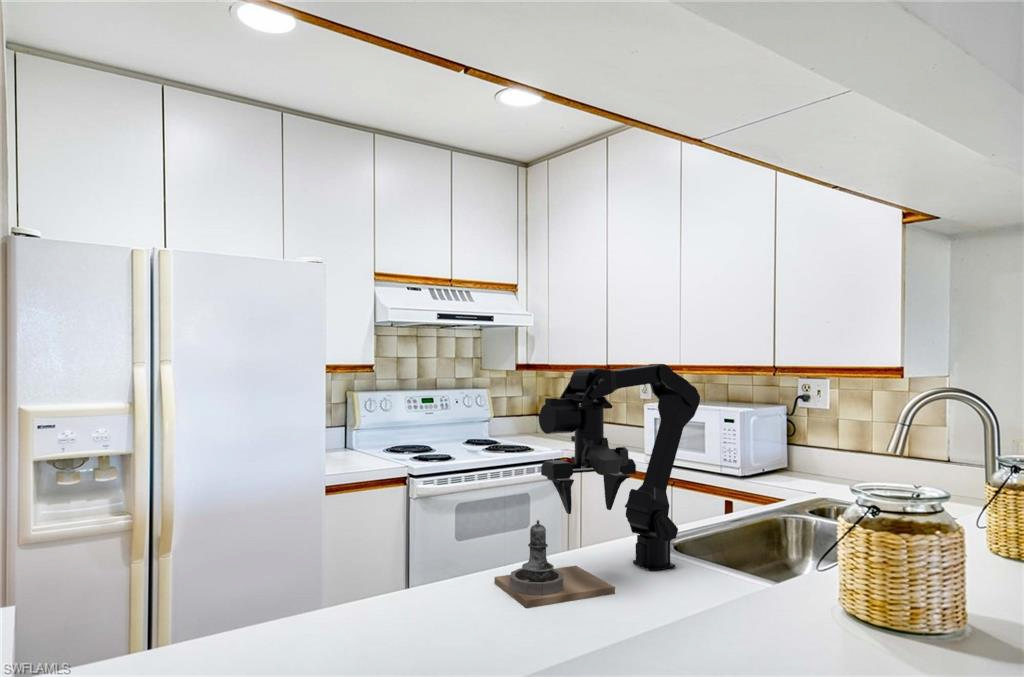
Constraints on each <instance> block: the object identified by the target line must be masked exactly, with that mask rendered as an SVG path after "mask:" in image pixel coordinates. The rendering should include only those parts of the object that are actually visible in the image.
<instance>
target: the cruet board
mask: <svg viewBox="0 0 1024 677" xmlns="http://www.w3.org/2000/svg"><path fill="white" fill-rule="evenodd" d="M527 581H530V580H528V579H527V578H526V576H525V574H524V569H523V568H522V567H521V568H517V569H515V570H513V571H511V572H510V574H506V575H498V576H494V584H495V585H496V586H497V587H498V588H500V589H501V590H503V591H504V592H505V593H506V594H508V595H509V596H510V597H511V598H513V599H514V600H516V602H518V603H519V604H521V605H522V606H523V607H524V608H525V609H529V608H534V607H536V608H537V607H540V606H546V605H552V604H553V605H554V604H560V603H565V602H571V601H572V602H573V601H577V600H583V599H590V598H595V597H602V596H607V595H608V596H609V595H614V594H615V595H616V586H614V585H612V584H610V583H609V582H607V581H605V580H603V579H601V578H600V577H598V576H596V575H594V574H592V573H590V572H589V571H587V570H585V569H583V568H581V567H580V566H578V565H571V566H565V567H557V568H555V567H554V568H553V569H552V574H551V577H550V578H549V579H548V580H546V581H548V582H527Z"/></svg>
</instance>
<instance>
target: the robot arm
mask: <svg viewBox="0 0 1024 677" xmlns="http://www.w3.org/2000/svg"><path fill="white" fill-rule="evenodd" d="M642 385H650V389H651V392H652V394H653V395H654V396H655V397H656V398H657V399H658V402H657V410H658V413H659V418H660V424H659V426H658V430H657V432H656V437H655V440H654V445H653V447H652V450H651V455H650V458H649V462H648V465H647V468H646V472H645V475H644V478H643V482H642V484H641V485H640V487H639V488H637V489H635V488H631V489H630V491H629V493H628V499H627V502H626V503H625V504H624V508H625V517H626V518H627V521H628V523H629V527H630V530H631V532H632V533H633V534H637V535H636V543H635V559H633V560H632V563H633V564H635V565H637V566H638V567H641V568H643V569H645V570H647V571H651V572H654V571H660V570H666V569H667V570H668V569H673V568H676V564H674V563H671V541H673V540H675V539H677V535H678V531H679V527H678V526H676V524H675V523H674V522H673V521H672V519H671V518H670V517H669V514H670V502H669V497H668V494H667V488H668V485H669V481H670V478H671V474H672V471H673V467H674V464H675V460H676V456H677V452H678V449H679V446H680V443H681V439H682V438H681V437H682V434H683V432H684V431H683V430H684V428H685V426H686V425H687V424H688V423H689V422H690V421H691V420H692V419H693V418H694V417H695V414H696V412H697V410H698V408H699V405H700V403H701V395H700V394H699V392H698V389H697V387H695V386H694V385H692V384H691V383H690V381H689V380H687V379H685V378H684V377H682V376H680V375H679V374H678V373H676V372H674V370H673V369H672V368H671V367H670V366H669V365H667V364H665V363H649V364H648V365H642V366H636V367H635V366H634V367H627V368H619V369H608V368H607V369H605V368H577V369H575V370H574V371H573V372H572V375H571V376H570V379H569V382H568V383H567V385H566V387H565V389H564V390H563V392H562V393H561V395H560V397H559V398H554V397H545V399H544V403H545V404H543V406H541V408H540V411H539V414H538V425H539V427H540V429H541V431H542V432H543V433H544V434H546V435H551V434H552V435H553V434H554V435H555V434H571V433H574V435H571V436H570V439H571V442H574V456H571V457H570V458H571V462H568V461H564V460H561V459H556V460H555V459H554V460H553V459H551V460H544V461H543V463H542V465H541V467H540V471H541V472H540V473H541V474H540V475H541V476H543V477H546V478H547V480H549V481H551V482H552V484H553V485H554V487H555V490H556V492H558V496H559V498H560V500H561V502H562V506H563V508H564V510H565V513H566V514H568V515H571V514H572V507H573V506H572V486H573V484H574V482H575V479H573V478H571V477H572V475H574V474H579V473H580V474H581V473H596V474H597V475H599V476H603V487H604V499H605V500H604V501H605V506H606V510H608V511H611V510H612V508H613V505H614V504H615V503H614V502H615V499H616V497H617V495H618V491H619V489H620V487H621V485H622V484H623V483H624V482H625V481H626V480H627V479H630V478H631V475H633V474H637V464H636V462H635V461H634V460H633V458H630V457H629V449H627V448H626V446H616V447H615V448H610V447H609V441H608V437H606V436H604V435H605V432H604V425H605V424H604V423H605V422H604V421H605V420H604V419H605V418H604V416H605V415H604V414H605V413H604V411H605V410H606V409H613V407H614V405H613V404H612V403H611V402H609V401H608V400H607V398H606V396H608V395H611V394H613V393H614V392H615V391H617V390H619V389H622V388H623V389H624V388H630V387H636V386H642Z"/></svg>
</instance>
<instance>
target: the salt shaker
mask: <svg viewBox="0 0 1024 677" xmlns="http://www.w3.org/2000/svg"><path fill="white" fill-rule="evenodd" d="M529 530H530V531H529V533H530V534H529V536H530V537H529V541H530V542H529V543H528V547H529V557H528V561H527V562H524V563H523V564H522V566H521V568H523V569H524V574H525V576H526V578H527V579H528V580H530V581H527V582H548V581H546V580H548V579H549V578H550V577H551V574H552V569H555V566H554V564H552V563H550V562H548V559H547V547H548V546H549V545H548V544H547V541H546V540H547V536H546V533H547V532H546V531H547V530H546V527H545V526H544V525H543V524H541V523H540V520H539V519H537V520H536V523H535V524H533V525H532V526H530V529H529Z"/></svg>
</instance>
